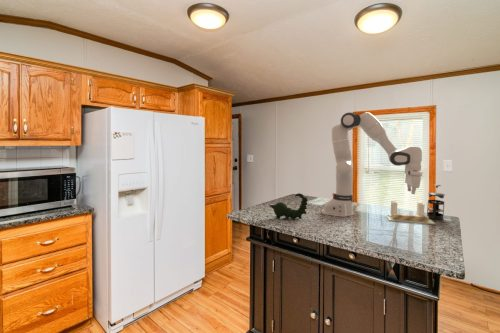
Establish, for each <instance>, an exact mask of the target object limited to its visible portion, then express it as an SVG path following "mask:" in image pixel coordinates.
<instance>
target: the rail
mask: <svg viewBox="0 0 500 333" xmlns="http://www.w3.org/2000/svg"><path fill="white" fill-rule="evenodd" d="M393 219H397V220H410V221H423V222H429V220H430V219H429V217H428V216H427V215H424V216H420V215H417V214H406V213H405V214H403V213H397V214H393Z"/></svg>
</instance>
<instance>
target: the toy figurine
mask: <svg viewBox="0 0 500 333" xmlns="http://www.w3.org/2000/svg"><path fill="white" fill-rule="evenodd" d="M294 197H295V198H297V197H299V198H300V199H301V201H300V205H299V207H298V209H293V208H291V207H288V205H287V204H286V203H285V202H283V201H281V202H280V201H279V202H276V203H275V204H269V207H271V209H273V213H274V214H275V218H276V219H278V218H279V219H281V217H285V218H284V219H286V220H289V219H290V218H291V220H293V219H295V220H296V219H297V218H298V220H299V219H300V220H302V215H306V214H307V211H306V210H307V209H308V208H307V205H308V197H306V196H304V194H302V193H299V192H298V193H297V194H295V195H294Z"/></svg>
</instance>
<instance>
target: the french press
mask: <svg viewBox="0 0 500 333" xmlns="http://www.w3.org/2000/svg"><path fill="white" fill-rule="evenodd" d="M433 186H434V187H435V188H436V189H435V190H436V192H428V197H429V198H431V197H435V199H427V211H426V216H428V217H429V220H432V221H434V222H435V221H436V222H442V220H443V221H444V217H445V216H444V214H445V213H444V212H445V201H443V200H439V199H444V198H445V196H446V194H444V193H441V192H438V188H439V187H442V185H441V184H433ZM437 197H439V199H437ZM429 204H432V207H429ZM442 205H443V206H442ZM440 206H442V209H441V208H440ZM429 211H430V212H429ZM441 212H442V213H441Z"/></svg>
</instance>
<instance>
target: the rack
mask: <svg viewBox="0 0 500 333" xmlns="http://www.w3.org/2000/svg"><path fill="white" fill-rule="evenodd" d="M416 203H417V204H416V215H420V216H425V206H426V205H425V203H423V202H416ZM393 214H398V202H397V201H396V200H391V202H390V213H388V217H393Z"/></svg>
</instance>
